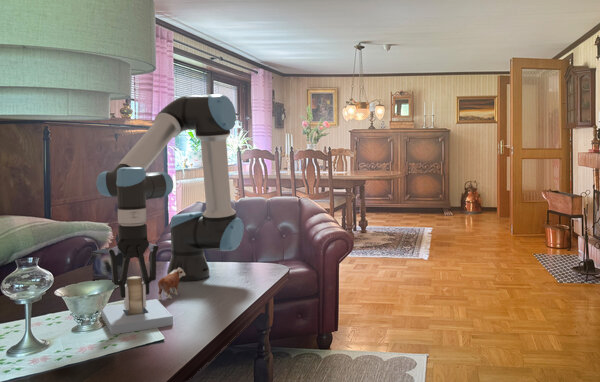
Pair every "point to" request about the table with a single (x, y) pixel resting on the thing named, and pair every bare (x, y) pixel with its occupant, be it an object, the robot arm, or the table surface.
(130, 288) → the peg
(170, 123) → the robot arm
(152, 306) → the socket board
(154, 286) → the table surface
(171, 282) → the bull figurine
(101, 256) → the small box
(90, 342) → the table surface
